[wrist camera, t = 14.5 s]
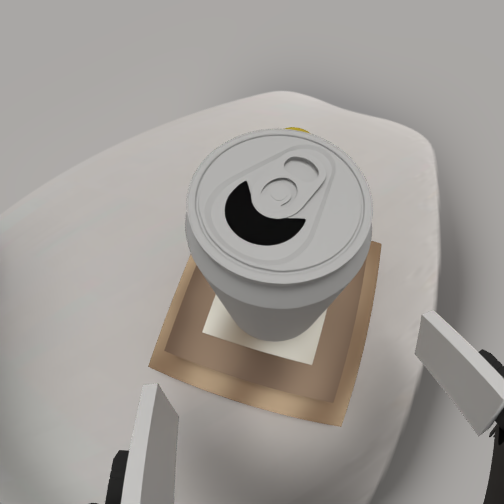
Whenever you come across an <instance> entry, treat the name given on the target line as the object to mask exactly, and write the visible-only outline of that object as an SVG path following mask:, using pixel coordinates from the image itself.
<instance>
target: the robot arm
mask: <svg viewBox="0 0 504 504" xmlns="http://www.w3.org/2000/svg"><path fill="white" fill-rule="evenodd" d="M415 355H416V356H417V357H418V358H419V360H420V361H421V362H422V363H423V364H424V366H425V367H426V368H427V369H428V370H429V372H430V373H431V374H432V375H433V377H434V378H435V379H436V381H437V382H438V383H439V384H440V386H441V387H442V388H443V389H444V391H445V392H446V393H447V395H448V396H449V397H450V398H451V400H452V401H453V402H454V404H455V405H456V406H457V408H458V409H459V410H460V412H461V413H462V414H463V416H464V417H465V418H466V420H467V421H468V422H469V424H470V425H471V427H472V428H473V429H474V431H475V432H476V433H477V435H478V436H480V435H481V434H482V433H484V432H485V431H486V430H487V429H489V428H490V427H491V425H492V424H493V422H494V421H496V422H497V425H496V426H495V427H494V428H493V430H492V431H491V432H490V435H489V437H491V436H492V435H493V434H494V432H495V435H494V437H495V439H494V450H493V457H492V464H491V471H490V476H489V481H488V486H487V491H486V495H485V499H484V503H483V504H504V366H502V364H501V363H500V362H499V361H497V359H496V358H495V357H494V356H493V355H492V354H491V353H489V352H487V351H485V350H481V351H479V352H477V351H476V350H475V349H474V348H473V347H472V346H471V345H470V344H469V343H468V342H467V341H466V340H465V339H464V338H463V337H462V336H461V335H460V334H459V333H458V332H457V331H455V330H454V329H453V328H452V327H451V326H450V325H449V324H448V323H447V322H446V321H445V320H443V319H442V318H441V317H440V316H439V315H438V314H437V313H436V312H435V311H434V310H431V311H429V312H427V313H424V314H422V317H421V323H420V329H419V335H418V340H417V345H416V350H415ZM178 422H179V416H178V414H177V413H176V411H175V410H174V408H173V407H172V405H171V404H170V402H169V401H168V399H167V397H166V396H165V394H164V393H163V391H162V389H161V388H160V386H159V384H158V383H155V384H145V385H143V389H142V393H141V397H140V401H139V406H138V410H137V415H136V419H135V424H134V429H133V434H132V439H131V444H130V449H129V451H124V450H119V451H118V453H117V454H116V456H115V458H114V459H113V463H112V468H111V469H112V471H111V473H110V479H109V484H108V490H107V496H106V502H105V504H174V488H175V466H176V449H177V435H178ZM90 504H97V503H90Z"/></svg>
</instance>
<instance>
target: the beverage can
mask: <svg viewBox="0 0 504 504" xmlns="http://www.w3.org/2000/svg"><path fill="white" fill-rule="evenodd" d="M372 216H373V202H372V195H371V191H370V188H369V185H368V183H367V180H366V178H365V176H364V175H363V173H362V171H361V170H360V168H359V167H358V166H357V164H356V163H355V162H354V161H353V160H352V159H351V158H350V157H349V156H348V155H347V154H346V153H345V152H344V151H343V150H341V149H340V148H339V147H337V146H336V145H334V144H332V143H331V142H329V141H327V140H325V139H323V138H321V137H318V136H316V135H313V134H310V133H306V132H302V131H297V130H290V129H265V130H258V131H253V132H249V133H246V134H243V135H240V136H238V137H235V138H233V139H231V140H229V141H227V142H225V143H224V144H222V145H221V146H219V147H218V148H216V149H215V150H214V151H212V152H211V153H210V154H209V155H208V156H207V157H206V158H205V159H204V160H203V162H202V163H201V164H200V166H199V167H198V169H197V170H196V172H195V173H194V176H193V178H192V180H191V182H190V185H189V189H188V193H187V213H186V220H185V232H186V238H187V242H188V246H189V249H190V252H191V255H192V257H193V259H194V261H195V263H196V265H197V266H198V268H199V269H200V271H201V272H202V274H203V276H204V277H205V279H206V280H207V282H208V283H209V285H210V286H211V288H212V289H213V291H214V292H215V294H216V295H217V296H218V298H219V299H220V301H221V302H222V304H223V305H224V307H225V308H226V310H227V311H228V313H229V314H230V315H231V317H232V318H233V320H234V321H235V323H236V324H237V325H238V326H239V327H240V328H241V329H242V330H243V331H245V332H246V333H247V334H249V335H251V336H253V337H255V338H257V339H260V340H264V341H273V342H278V341H285V340H289V339H292V338H295V337H297V336H299V335H300V334H302V333H303V332H305V331H306V330H307V329H308V328H309V327H310V326H311V325H312V324H313V323H314V322H315V321H316V320H317V319H318V318H319V317H320V316H321V314H322V313H323V312H324V311H325V310H326V309H327V308H328V307H329V306H330V305H331V303H332V302H333V301H334V300H335V299H336V298H337V297H338V295H339V294H340V293H341V292H342V291H343V290H344V288H345V287H346V286H347V285H348V284H349V283H350V281H351V280H352V279H353V278H354V277H355V275H356V274H357V273H358V272H359V270H360V269H361V267H362V265H363V263H364V261H365V259H366V257H367V254H368V251H369V248H370V244H371V237H372Z"/></svg>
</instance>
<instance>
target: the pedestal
mask: <svg viewBox="0 0 504 504" xmlns="http://www.w3.org/2000/svg"><path fill="white" fill-rule="evenodd" d="M380 253H381V244H380V243H377V242H374V241H371V244H370V248H369V251H368V254H367V257H366V259H365V261H364V263H363V265H362V267H361V269H360V270H359V272H358V273H357V274H356V275H355V277H354V278H353V279H352V280H351V281H350V283H349V284H348V285H347V286H346V287H345V288H344V290H343V291H342V292H341V293H340V294H339V295H338V297H337V298H336V299H335V300H334V301H333V302H332V303H331V305H330V306H329V307H328V308H327V309H326V310H325V311H324V312H323V313H322V314H321V316H320V317H319V318H318V319H317V320H316V321H315V322H314V323H313V324H312V325H311V326H310V327H309V328H308V329H307V330H306V331H305V332H303V333H302V334H300V335H299V336H297V337H295V338H292V339H289V340H285V341H278V342H273V341H264V340H260V339H257V338H255V337H253V336H251V335H249V334H247V333H246V332H245V331H243V330H242V329H241V328H240V327H239V326H238V325H237V324H236V323H235V321H234V320H233V318H232V317H231V315H230V314H229V313H228V311H227V310H226V308H225V307H224V305H223V304H222V302H221V301H220V299H219V298H218V296H217V295H216V294H215V292H214V291H213V289H212V288H211V286H210V285H209V283H208V282H207V280H206V279H205V277H204V276H203V274H202V272H201V271H200V269H199V268H198V266H197V265H196V263H195V261H194V259H193V257H192V255H190V257H189V260H188V262H187V265H186V267H185V270H184V272H183V275H182V277H181V280H180V282H179V285H178V287H177V290H176V292H175V295H174V297H173V300H172V303H171V305H170V308H169V310H168V313H167V316H166V318H165V321H164V324H163V326H162V329H161V332H160V335H159V337H158V340H157V343H156V346H155V349H154V351H153V354H152V357H151V360H150V363H149V366H148V367H150V368H152V369H155V370H157V371H159V372H161V373H164V374H166V375H168V376H170V377H173V378H175V379H178V380H180V381H182V382H185V383H187V384H190V385H193V386H195V387H198V388H200V389H203V390H206V391H208V392H211V393H214V394H217V395H220V396H222V397H225V398H228V399H231V400H234V401H238V402H241V403H244V404H247V405H250V406H254V407H257V408H261V409H264V410H268V411H271V412H275V413H279V414H283V415H287V416H291V417H295V418H299V419H304V420H309V421H313V422H318V423H323V424H329V425H334V426H340V427H341V425H342V422H343V420H344V417H345V413H346V410H347V407H348V404H349V401H350V398H351V394H352V391H353V387H354V384H355V380H356V377H357V373H358V369H359V365H360V361H361V357H362V353H363V349H364V345H365V340H366V336H367V331H368V327H369V322H370V317H371V311H372V306H373V300H374V295H375V288H376V282H377V275H378V268H379V261H380Z"/></svg>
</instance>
